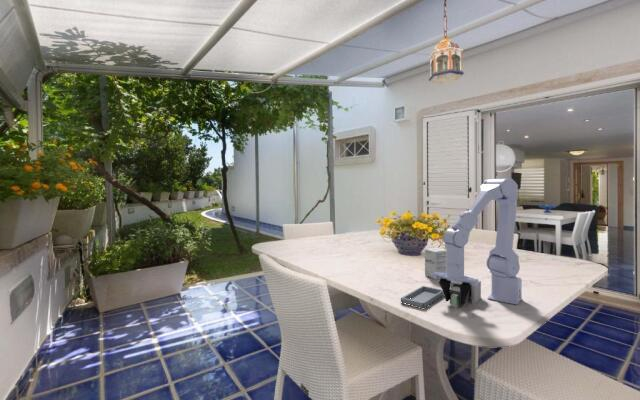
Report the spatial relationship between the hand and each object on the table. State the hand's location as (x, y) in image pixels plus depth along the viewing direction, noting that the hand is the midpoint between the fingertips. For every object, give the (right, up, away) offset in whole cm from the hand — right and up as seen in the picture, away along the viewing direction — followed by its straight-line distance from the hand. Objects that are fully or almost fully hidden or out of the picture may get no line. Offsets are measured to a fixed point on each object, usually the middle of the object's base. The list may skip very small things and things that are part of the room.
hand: (455, 302), depth 115 cm
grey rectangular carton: (+3, -1, +3) cm, 4 cm away
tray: (-9, -1, +7) cm, 12 cm away
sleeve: (+7, -1, +8) cm, 10 cm away
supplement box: (+6, 0, +35) cm, 36 cm away
